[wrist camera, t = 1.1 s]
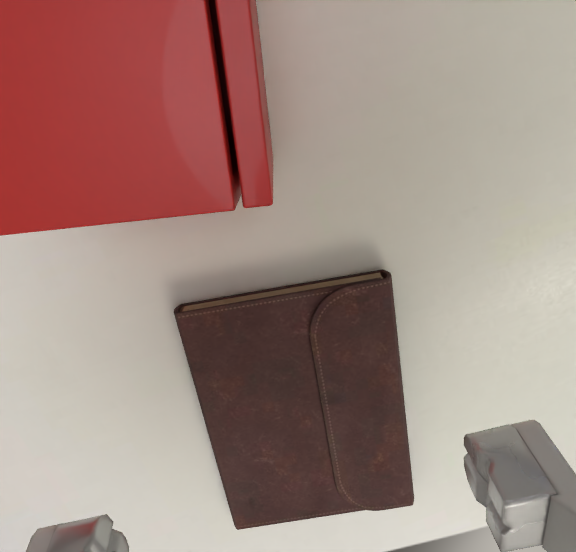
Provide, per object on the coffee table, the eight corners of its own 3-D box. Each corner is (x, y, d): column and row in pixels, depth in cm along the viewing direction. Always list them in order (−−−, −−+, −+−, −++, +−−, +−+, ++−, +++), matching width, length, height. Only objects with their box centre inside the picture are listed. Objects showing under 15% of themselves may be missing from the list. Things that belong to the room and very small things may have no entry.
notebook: (235, 514, 39) (233, 534, 37) (176, 305, 32) (170, 317, 30) (410, 486, 39) (417, 505, 37) (387, 268, 32) (394, 278, 30)
